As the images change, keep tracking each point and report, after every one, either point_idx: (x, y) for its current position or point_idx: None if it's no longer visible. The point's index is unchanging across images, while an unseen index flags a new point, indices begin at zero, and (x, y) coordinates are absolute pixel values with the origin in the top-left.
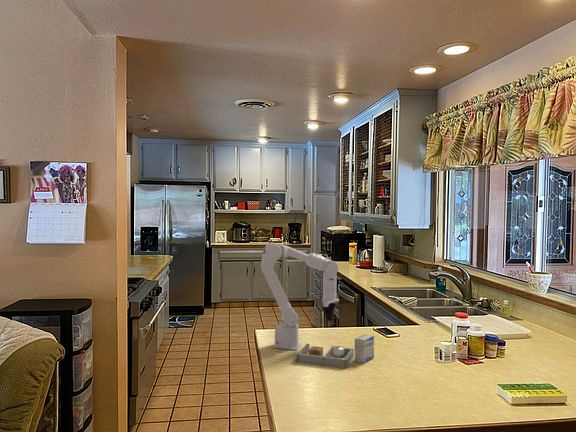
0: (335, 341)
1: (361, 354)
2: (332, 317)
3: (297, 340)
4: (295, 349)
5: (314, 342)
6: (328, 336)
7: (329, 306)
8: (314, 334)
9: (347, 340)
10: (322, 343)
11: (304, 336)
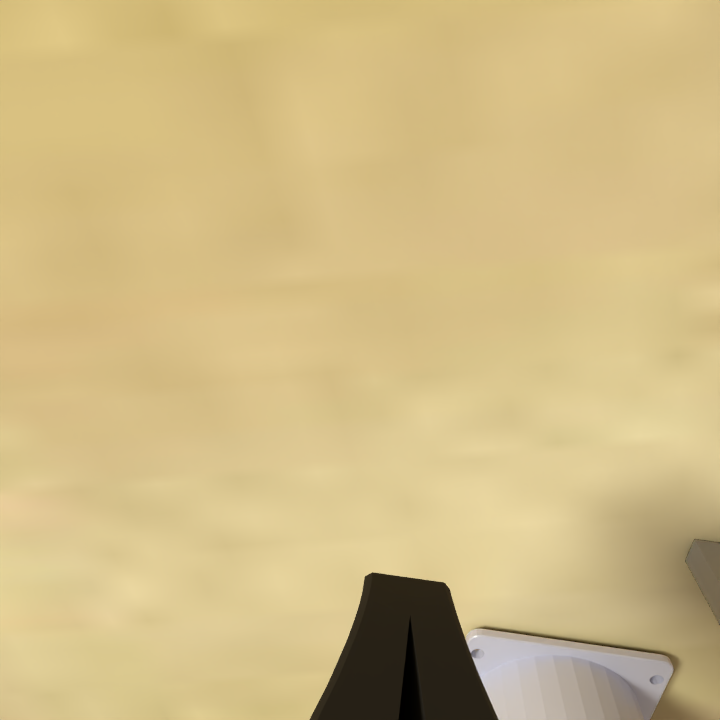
0: (224, 292)
1: None
2: (410, 631)
3: (595, 717)
4: (669, 660)
5: (344, 518)
6: (41, 395)
7: None
8: (38, 541)
9: (111, 123)
10: (360, 436)
11: (157, 619)
